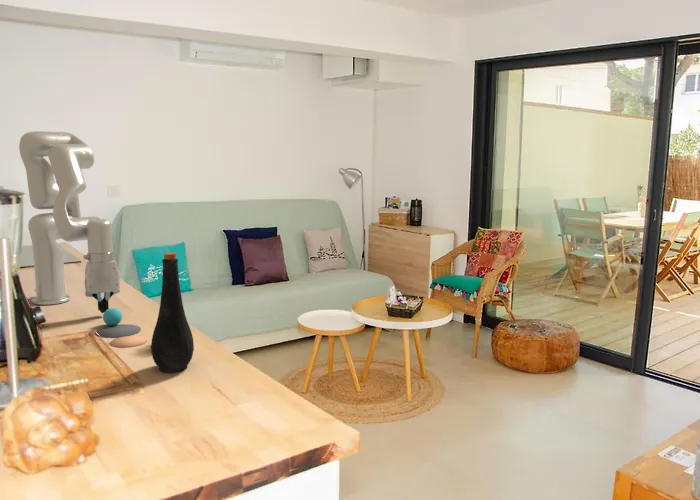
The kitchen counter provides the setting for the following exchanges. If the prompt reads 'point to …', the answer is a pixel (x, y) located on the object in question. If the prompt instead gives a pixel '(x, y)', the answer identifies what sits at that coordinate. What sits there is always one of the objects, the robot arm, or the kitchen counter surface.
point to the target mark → (118, 330)
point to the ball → (112, 316)
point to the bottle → (171, 323)
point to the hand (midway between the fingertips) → (103, 311)
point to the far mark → (128, 341)
